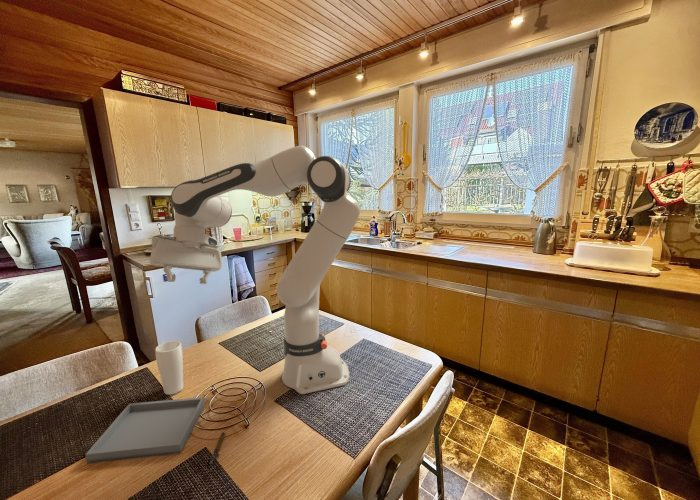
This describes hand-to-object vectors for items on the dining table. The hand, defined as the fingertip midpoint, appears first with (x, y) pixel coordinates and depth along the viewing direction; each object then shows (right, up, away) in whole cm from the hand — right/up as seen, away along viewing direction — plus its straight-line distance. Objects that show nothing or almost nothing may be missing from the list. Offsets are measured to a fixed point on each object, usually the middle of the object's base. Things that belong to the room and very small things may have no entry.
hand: (187, 282), depth 87 cm
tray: (-2, -37, -13) cm, 39 cm away
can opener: (+17, -39, -18) cm, 46 cm away
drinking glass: (-6, -34, +2) cm, 35 cm away
